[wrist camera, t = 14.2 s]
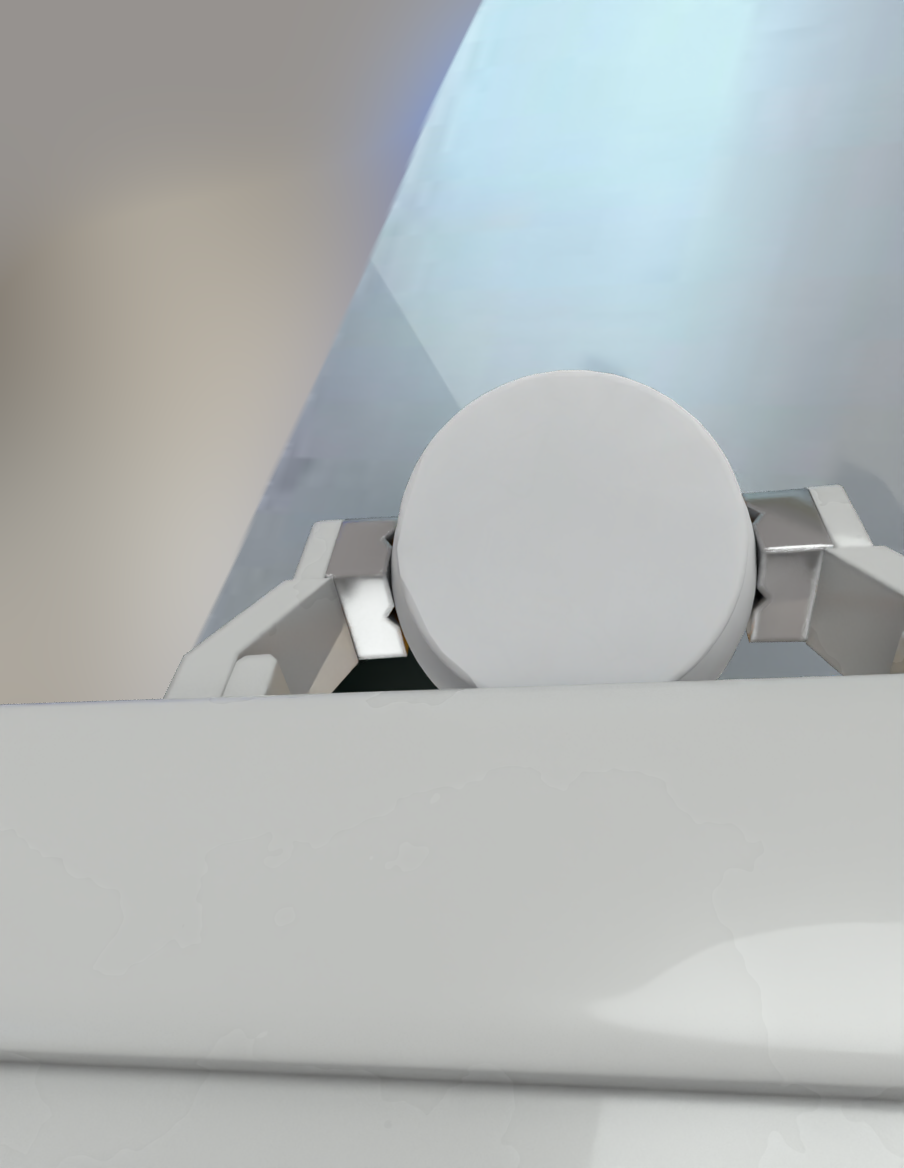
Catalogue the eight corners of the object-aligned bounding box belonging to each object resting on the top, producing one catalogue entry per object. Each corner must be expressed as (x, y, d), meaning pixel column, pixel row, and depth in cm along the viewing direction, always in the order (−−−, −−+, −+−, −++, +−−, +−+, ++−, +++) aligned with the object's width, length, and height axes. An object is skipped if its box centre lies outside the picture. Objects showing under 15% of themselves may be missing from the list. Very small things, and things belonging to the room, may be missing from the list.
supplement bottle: (488, 457, 19) (396, 267, 9) (716, 506, 18) (871, 351, 9) (432, 676, 19) (282, 710, 9) (660, 737, 18) (755, 845, 8)
